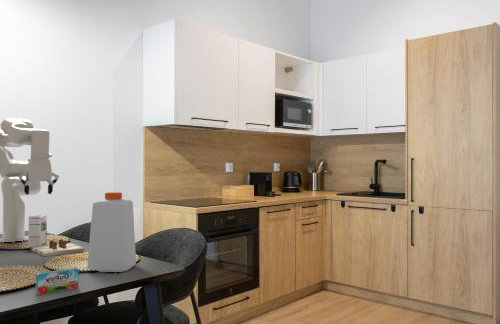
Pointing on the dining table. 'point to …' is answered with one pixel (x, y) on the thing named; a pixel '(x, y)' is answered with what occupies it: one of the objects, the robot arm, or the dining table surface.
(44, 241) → the syrup box
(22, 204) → the robot arm
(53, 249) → the peg stand
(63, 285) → the yogurt
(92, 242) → the plastic bottle
